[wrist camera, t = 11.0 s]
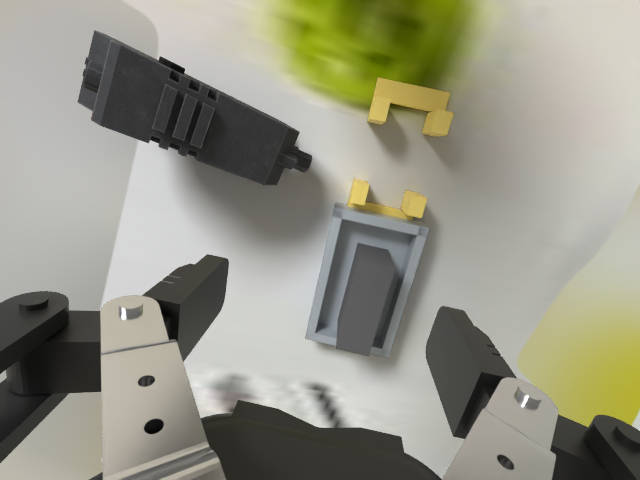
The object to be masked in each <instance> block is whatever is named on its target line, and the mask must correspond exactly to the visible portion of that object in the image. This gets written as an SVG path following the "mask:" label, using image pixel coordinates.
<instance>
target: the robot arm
mask: <svg viewBox="0 0 640 480" xmlns="http://www.w3.org/2000/svg"><path fill="white" fill-rule="evenodd" d="M228 266H229V261H228V259H227V258H222V257H218V256H213V255H206V256H205V257H204V258H202V259H201V260H200V261H199V262H198V263H196V264H195V265H194V264H188V265H185V266H182V267H179V268H177V269H176V270H174V271H173V272H172V273H171V274H169V276H167V277H165V278H164V279H163V280H162V281H160V282H159V283H158V284H156V285H155V286H154V287H152V288H151V289H150V290H149V291H147V292H146V293H145V294H143V295H142V296H137V295H133V296H124V297H119V298H116V299H113V300H111V301H109V302H107V303H106V304H105V305H104V306H103V307H102V308H101V311H69V300H68V298H67V297H66V296H65V295H63V294H60V293H57V292H48V291H44V292H42V291H40V292H31V293H25V294H21V295H18V296H15V297H12V298H9V299H7V300H5V301H3V302H1V303H0V374H1V373H2V372H3V371H5V370H6V374H7V378H6V379H5V380H4V381H2V382H1V383H0V463H1V462H2V461H3V460H4V459H5V458H6V457H7V456H8V455H9V454H10V453H11V452H12V451H13V450H14V448H16V447H17V446H18V445H19V444H20V443H21V442H22V441H23V440H24V438H25V437H27V435H29V434H30V433H31V431H32V430H33V429H34V428H35V427H36V426H37V425H38V424H39V423H40V422H41V421H42V420H43V419H44V418H45V417H46V416H47V415H48V414H49V413H50V412H51V411H52V410H53V409H54V408H55V407H56V406H57V405H58V404H59V403H60V402H61V401H62V400H63V399H64V398H65V397H66V396H67V395H68V394H69V393H81V392H101V393H102V455H103V456H102V460H103V472H102V473H100V474H98V475H97V476H95V477H93V478H91V479H89V480H640V431H639V430H637V429H636V428H634V427H632V426H631V425H629V424H626V423H625V422H623V421H621V420H619V419H616V418H613V417H610V416H606V415H597V416H595V418H594V419H593V421H592V422H591V424H590V425H589V427H586V426H584V425H581V424H579V423H577V422H574V421H572V420H570V419H567V418H565V417H562V416H560V415H558V408H557V406H556V405H555V403H554V402H553V401H552V400H551V398H549V397H548V396H547V395H546V394H545V393H544V392H543V391H541V390H540V389H538V388H537V387H535V386H533V385H532V384H530V383H528V382H525V381H523V380H520V379H517V378H516V376H515V375H514V373H513V372H512V370H511V369H510V368H509V366H508V365H507V363H506V362H505V360H504V359H503V357H501V356H500V353H499V352H498V350H497V349H496V348H495V346H494V344H493V343H492V341H491V340H490V339H489V337H488V336H487V335H486V334H484V333H483V332H482V331H481V330H480V329H479V328H477V327H475V326H474V325H473V323H472V322H471V320H470V319H469V317H468V316H467V314H466V313H465V312H464V311H463V310H459V309H454V308H450V307H445V306H442V307H441V308H440V309H439V311H438V313H437V316H436V318H435V321H434V324H433V327H432V330H431V332H430V335H429V338H428V341H427V345H426V359H427V362H428V365H429V368H430V371H431V374H432V377H433V379H434V382H435V385H436V388H437V391H438V394H439V397H440V400H441V403H442V405H443V408H444V411H445V414H446V417H447V420H448V423H449V426H450V428H451V431H452V434H453V436H454V437H458V438H463V439H465V440H464V442H463V444H462V446H461V447H460V449H459V451H458V453H457V454H456V456H455V458H454V460H453V461H452V463H451V465H450V466H449V468H448V470H447V472H446V473H445V475H444V477H443V479H441V478H440V477H439V476H438V475H437V474H435V473H434V472H433V471H432V470H431V469H430V468H428V467H427V466H426V465H424V464H423V463H421V462H420V461H419V460H417V459H415V458H414V457H412V456H410V455H408V454H406V453H404V450H403V444H402V438H401V437H400V436H395V435H391V434H386V433H382V432H378V431H373V430H369V429H364V428H319V427H315V426H313V425H311V424H309V423H307V422H305V421H302V420H300V419H298V418H296V417H294V416H292V415H290V414H288V413H285V412H283V411H281V410H279V409H276V408H272V407H267V406H263V405H258V404H254V403H249V402H245V401H241V400H238V401H237V404H236V406H235V409H234V411H233V413H225V414H216V415H211V416H207V417H204V418H201V419H200V415H199V412H198V409H197V406H196V402H195V399H194V396H193V393H192V389H191V386H190V383H189V380H188V376H187V373H186V370H185V367H184V363H183V362H184V360H185V359H186V358H187V356H188V355H189V354H190V352H191V351H192V349H193V348H194V347H195V345H196V344H197V343H198V341H199V340H200V338H201V337H202V336H203V334H204V333H205V332H206V330H207V329H208V328H209V326H210V325H211V323H212V322H213V321H214V319H215V318H216V317H217V315H218V314H219V312H220V311H221V309H222V306H223V303H224V299H225V292H226V283H227V275H228Z"/></svg>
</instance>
